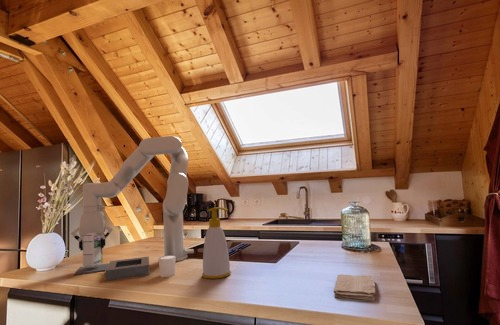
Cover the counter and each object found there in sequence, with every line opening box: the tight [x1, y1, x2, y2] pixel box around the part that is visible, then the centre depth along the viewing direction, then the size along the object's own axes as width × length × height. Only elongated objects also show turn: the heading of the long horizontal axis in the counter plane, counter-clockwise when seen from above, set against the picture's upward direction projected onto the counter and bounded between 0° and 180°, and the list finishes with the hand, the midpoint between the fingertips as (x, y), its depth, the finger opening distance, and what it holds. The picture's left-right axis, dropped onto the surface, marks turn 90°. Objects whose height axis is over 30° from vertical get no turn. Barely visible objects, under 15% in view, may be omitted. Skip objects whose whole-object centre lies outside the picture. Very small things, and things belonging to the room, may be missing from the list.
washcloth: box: [333, 274, 376, 302], centre depth 90 cm, size 12×18×3 cm, turn 160°
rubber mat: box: [73, 262, 110, 276], centre depth 129 cm, size 12×12×1 cm
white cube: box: [157, 256, 177, 278], centre depth 115 cm, size 7×7×7 cm
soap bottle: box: [201, 206, 232, 280], centre depth 113 cm, size 11×12×26 cm
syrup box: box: [82, 233, 104, 267], centre depth 130 cm, size 6×6×14 cm
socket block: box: [104, 256, 150, 282], centre depth 121 cm, size 16×16×4 cm
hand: (92, 248), depth 130 cm, fingers closed on syrup box, 7 cm apart
